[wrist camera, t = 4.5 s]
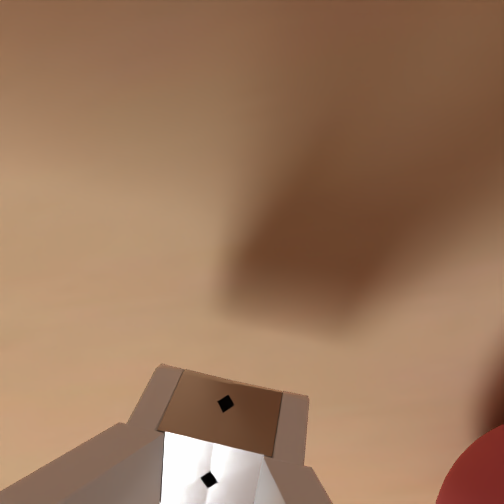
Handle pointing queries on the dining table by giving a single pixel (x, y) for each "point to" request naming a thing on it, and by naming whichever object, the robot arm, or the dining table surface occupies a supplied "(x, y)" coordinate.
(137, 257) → the dining table surface
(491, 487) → the red rubber ball
